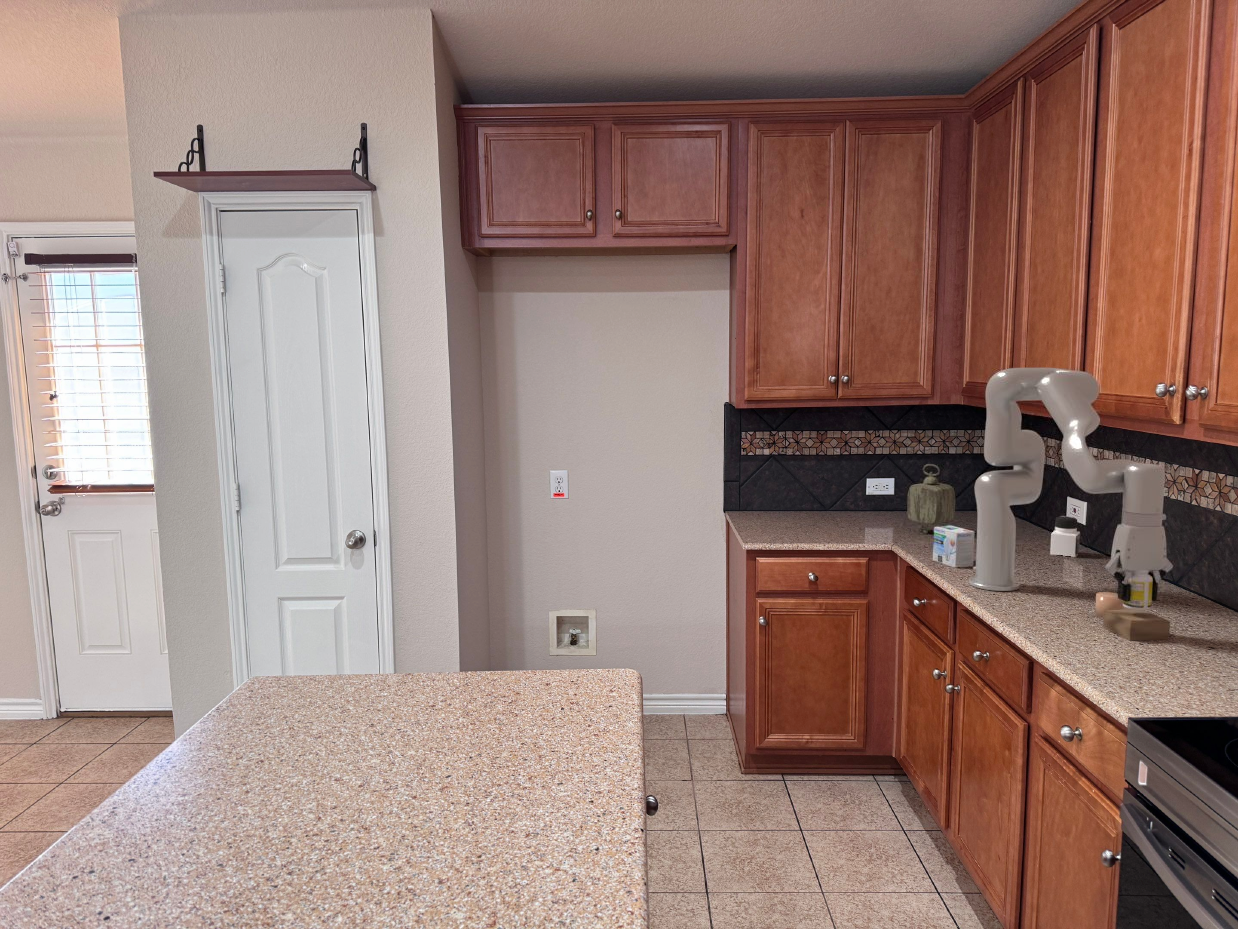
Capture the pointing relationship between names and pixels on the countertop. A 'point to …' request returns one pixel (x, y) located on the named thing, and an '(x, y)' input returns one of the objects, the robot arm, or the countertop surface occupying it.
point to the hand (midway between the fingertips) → (1136, 598)
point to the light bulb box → (953, 546)
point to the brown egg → (1107, 603)
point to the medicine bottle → (1065, 537)
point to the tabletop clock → (931, 502)
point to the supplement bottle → (1140, 591)
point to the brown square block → (1136, 624)
